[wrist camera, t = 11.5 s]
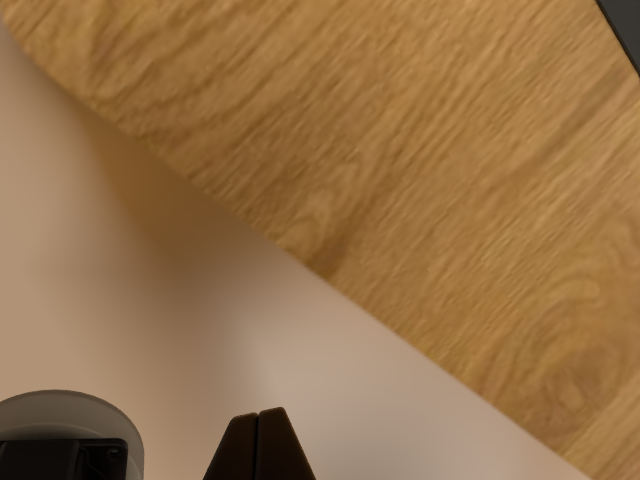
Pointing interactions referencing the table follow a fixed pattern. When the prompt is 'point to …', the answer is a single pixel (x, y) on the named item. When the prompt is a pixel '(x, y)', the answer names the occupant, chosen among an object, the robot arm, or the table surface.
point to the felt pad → (625, 25)
